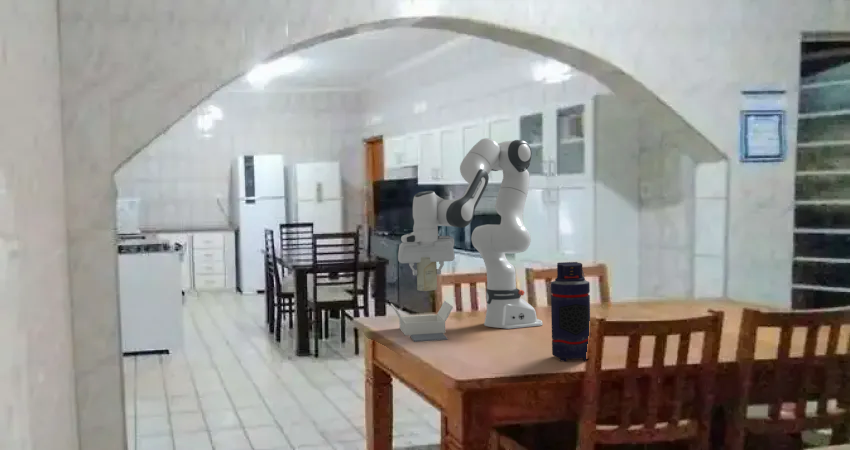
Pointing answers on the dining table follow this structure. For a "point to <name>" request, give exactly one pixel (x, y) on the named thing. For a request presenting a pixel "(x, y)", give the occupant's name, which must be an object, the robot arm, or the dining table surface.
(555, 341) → the dark blue bottle
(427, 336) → the mat
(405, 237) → the robot arm
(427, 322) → the carton
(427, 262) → the skincare box
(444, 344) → the dining table surface
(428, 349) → the dining table surface
